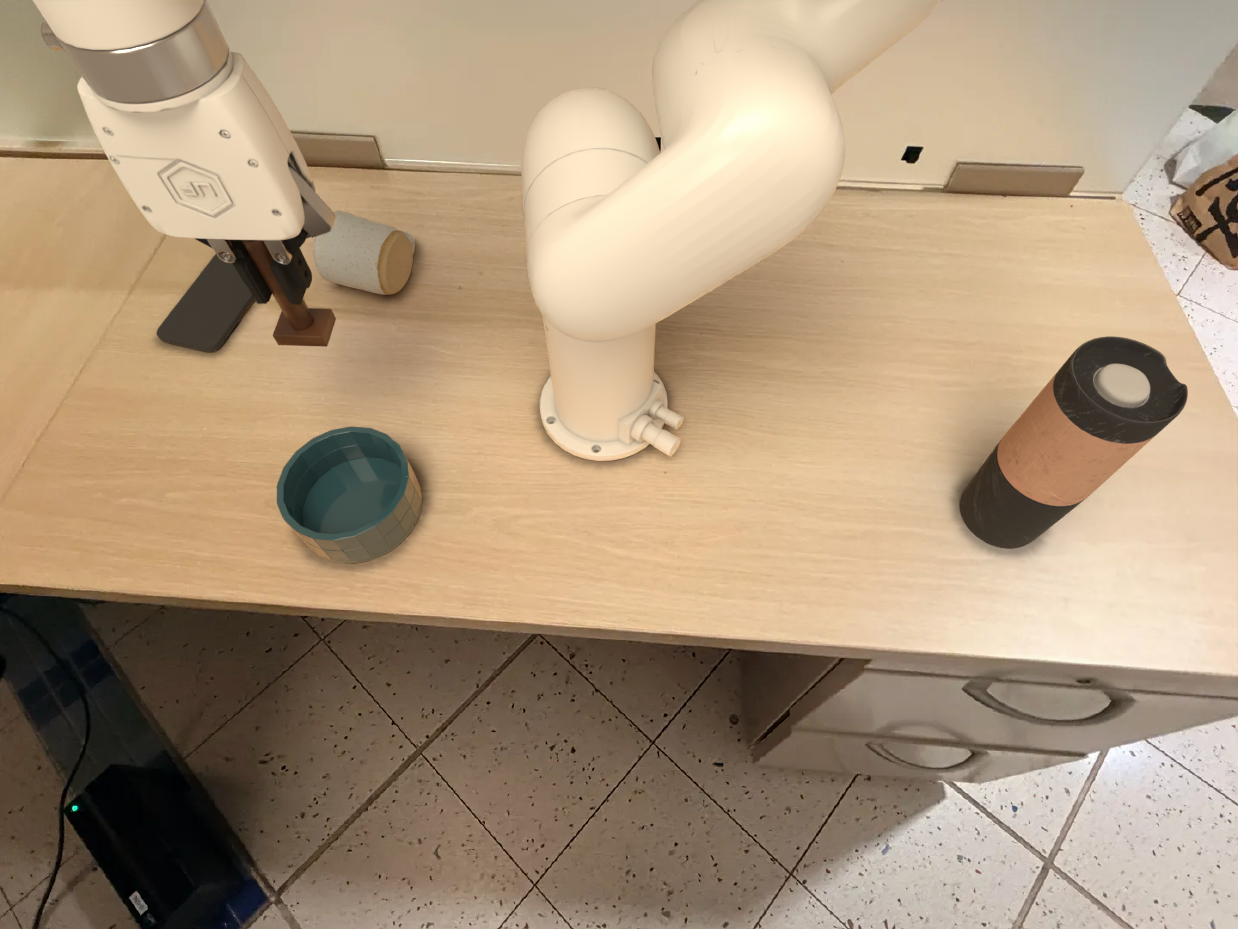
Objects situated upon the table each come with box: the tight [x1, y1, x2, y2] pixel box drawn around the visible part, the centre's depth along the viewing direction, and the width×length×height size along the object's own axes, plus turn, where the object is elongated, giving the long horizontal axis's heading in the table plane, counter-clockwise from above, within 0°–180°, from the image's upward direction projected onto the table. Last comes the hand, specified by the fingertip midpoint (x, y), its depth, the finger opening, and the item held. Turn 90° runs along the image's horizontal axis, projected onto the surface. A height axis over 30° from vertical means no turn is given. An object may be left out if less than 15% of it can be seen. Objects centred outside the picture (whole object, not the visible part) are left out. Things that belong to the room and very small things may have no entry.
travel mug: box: [959, 335, 1189, 549], centre depth 58 cm, size 8×8×20 cm
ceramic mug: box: [312, 210, 416, 296], centre depth 79 cm, size 11×8×8 cm
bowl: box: [276, 426, 423, 564], centre depth 65 cm, size 11×11×5 cm
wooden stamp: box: [241, 240, 337, 348], centre depth 55 cm, size 4×3×10 cm
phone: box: [156, 253, 255, 353], centre depth 80 cm, size 7×1×15 cm
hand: (284, 289), depth 55 cm, fingers closed on wooden stamp
